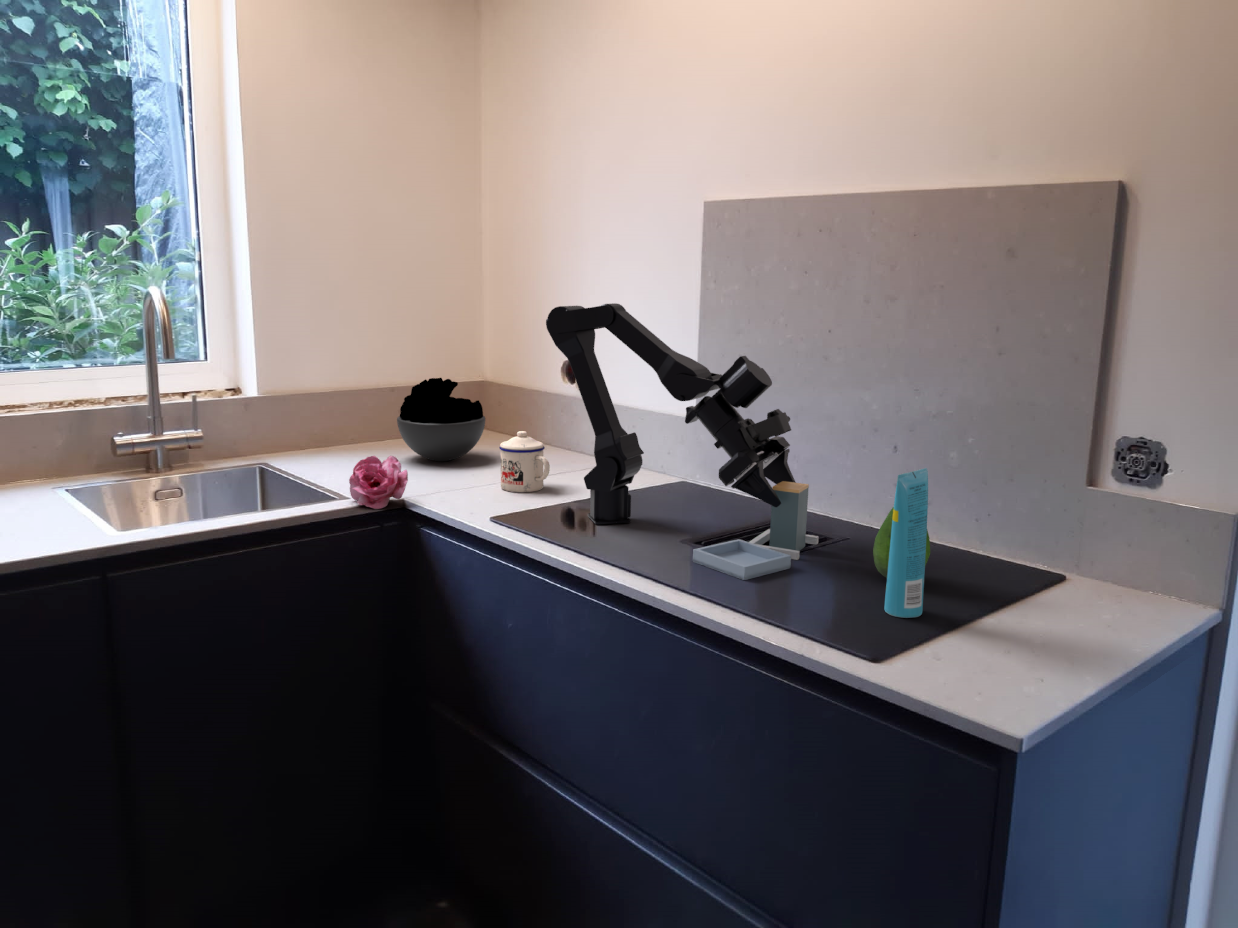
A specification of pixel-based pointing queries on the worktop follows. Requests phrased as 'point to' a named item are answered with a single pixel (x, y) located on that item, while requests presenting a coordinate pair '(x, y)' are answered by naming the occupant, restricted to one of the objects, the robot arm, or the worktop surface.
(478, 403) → the bowl of black rocks
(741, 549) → the tray
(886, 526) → the avocado
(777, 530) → the block
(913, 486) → the tube
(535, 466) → the teacup with lid
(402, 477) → the flower
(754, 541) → the frame
